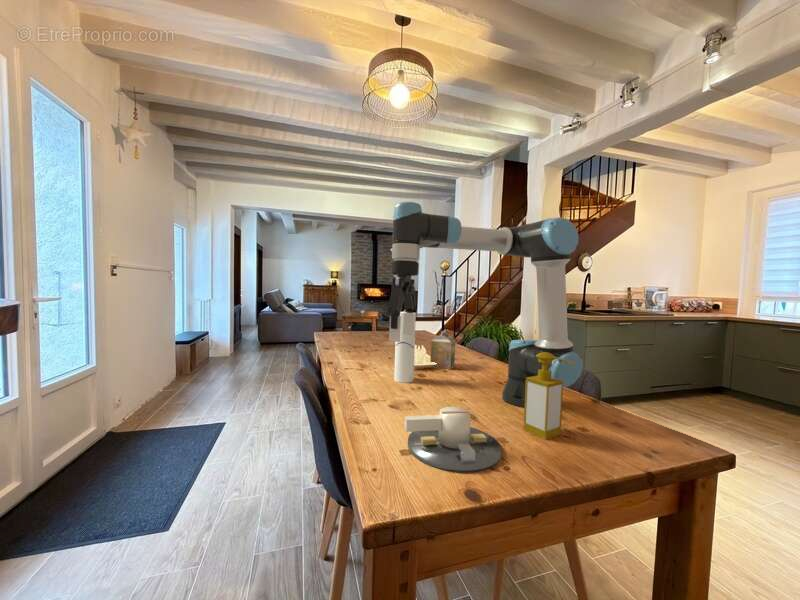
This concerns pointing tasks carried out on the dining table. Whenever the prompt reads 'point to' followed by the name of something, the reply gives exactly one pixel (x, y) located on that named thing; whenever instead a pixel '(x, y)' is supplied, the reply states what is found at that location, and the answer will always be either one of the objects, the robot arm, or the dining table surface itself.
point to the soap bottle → (543, 401)
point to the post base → (456, 452)
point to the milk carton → (443, 351)
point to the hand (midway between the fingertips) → (401, 338)
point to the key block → (445, 427)
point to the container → (405, 354)
